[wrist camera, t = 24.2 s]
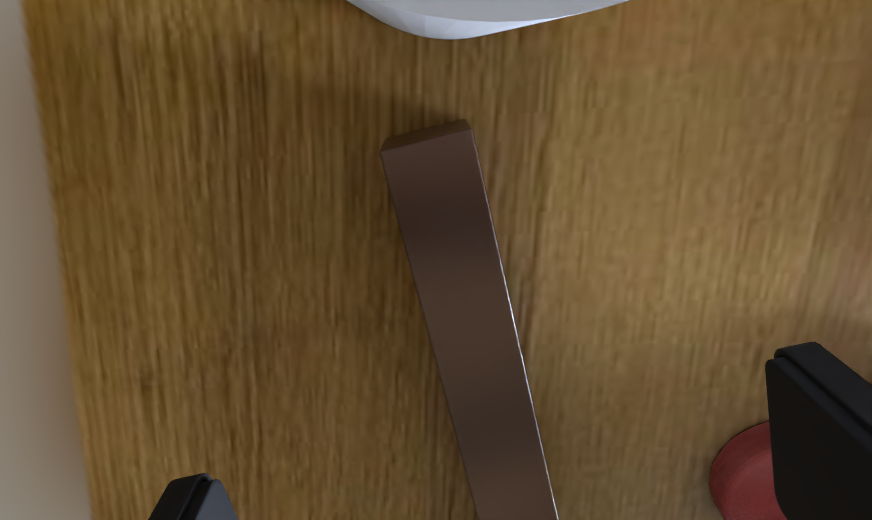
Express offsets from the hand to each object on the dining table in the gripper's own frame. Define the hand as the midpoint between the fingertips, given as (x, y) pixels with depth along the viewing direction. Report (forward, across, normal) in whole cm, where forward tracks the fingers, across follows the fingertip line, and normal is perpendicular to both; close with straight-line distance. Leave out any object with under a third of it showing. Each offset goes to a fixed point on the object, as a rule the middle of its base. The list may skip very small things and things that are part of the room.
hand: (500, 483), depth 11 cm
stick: (+9, 0, +3) cm, 10 cm away
